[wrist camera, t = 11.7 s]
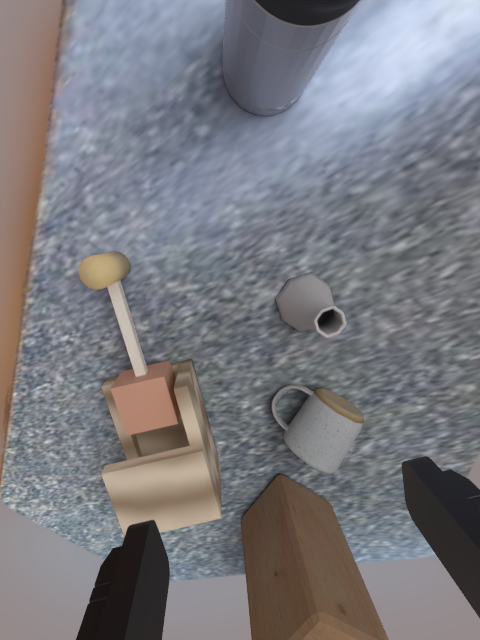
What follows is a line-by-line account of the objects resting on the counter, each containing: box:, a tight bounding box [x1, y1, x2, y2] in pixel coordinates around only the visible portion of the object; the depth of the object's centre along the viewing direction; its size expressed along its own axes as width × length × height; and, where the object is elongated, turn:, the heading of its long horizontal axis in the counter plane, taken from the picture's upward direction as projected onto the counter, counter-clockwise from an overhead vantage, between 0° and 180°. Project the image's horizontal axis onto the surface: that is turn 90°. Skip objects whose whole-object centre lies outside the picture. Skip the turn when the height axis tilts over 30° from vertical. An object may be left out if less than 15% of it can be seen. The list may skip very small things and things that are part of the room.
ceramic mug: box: [272, 384, 364, 474], centre depth 44 cm, size 11×8×8 cm
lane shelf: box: [101, 359, 222, 536], centre depth 42 cm, size 16×11×10 cm
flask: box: [276, 272, 347, 339], centre depth 39 cm, size 7×7×10 cm
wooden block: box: [241, 474, 388, 640], centre depth 42 cm, size 10×10×20 cm
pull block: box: [79, 252, 180, 436], centre depth 39 cm, size 20×6×7 cm, turn 12°
